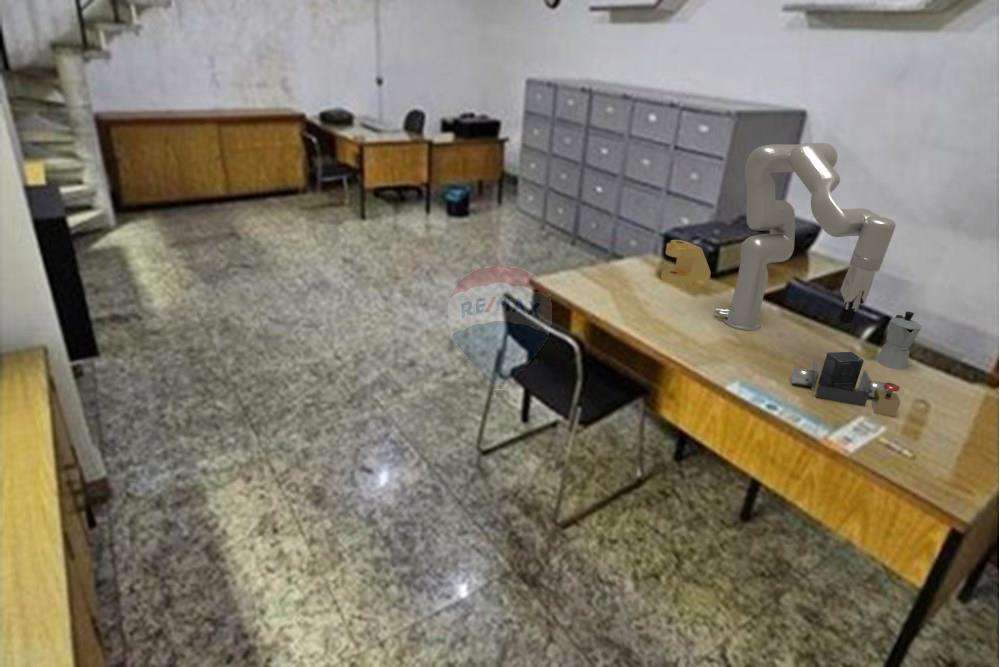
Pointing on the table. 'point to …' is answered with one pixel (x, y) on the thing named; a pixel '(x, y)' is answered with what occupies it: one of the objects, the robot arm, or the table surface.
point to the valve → (886, 400)
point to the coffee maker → (899, 341)
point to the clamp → (686, 263)
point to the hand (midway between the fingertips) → (844, 321)
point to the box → (841, 369)
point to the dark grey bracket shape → (835, 392)
